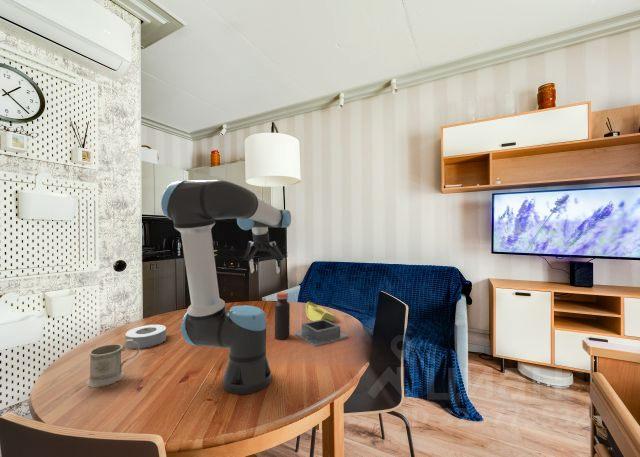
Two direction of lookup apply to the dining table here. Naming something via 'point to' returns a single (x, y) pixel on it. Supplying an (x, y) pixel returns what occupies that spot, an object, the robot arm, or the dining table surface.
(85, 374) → the dining table surface
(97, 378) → the mug
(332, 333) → the duct collar
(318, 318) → the plastic component
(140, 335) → the tape roll
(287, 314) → the vinegar
